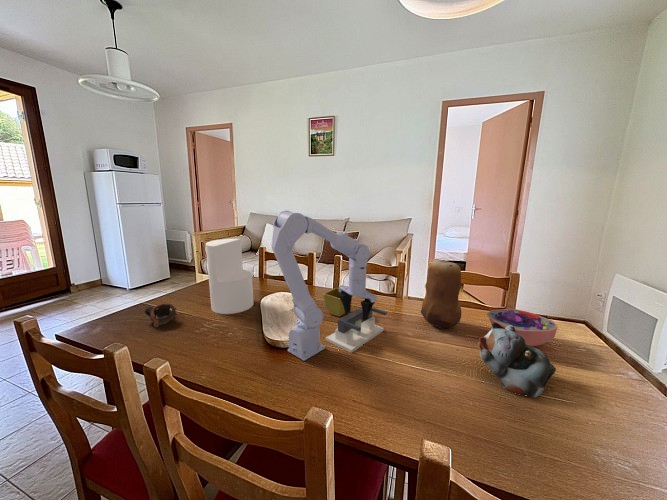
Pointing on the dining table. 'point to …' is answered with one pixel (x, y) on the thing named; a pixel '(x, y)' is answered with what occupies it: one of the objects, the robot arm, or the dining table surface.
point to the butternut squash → (442, 294)
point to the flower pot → (334, 302)
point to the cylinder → (228, 277)
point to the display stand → (355, 335)
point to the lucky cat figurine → (515, 361)
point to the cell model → (525, 325)
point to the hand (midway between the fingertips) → (356, 315)
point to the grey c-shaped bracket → (355, 319)
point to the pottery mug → (161, 313)
